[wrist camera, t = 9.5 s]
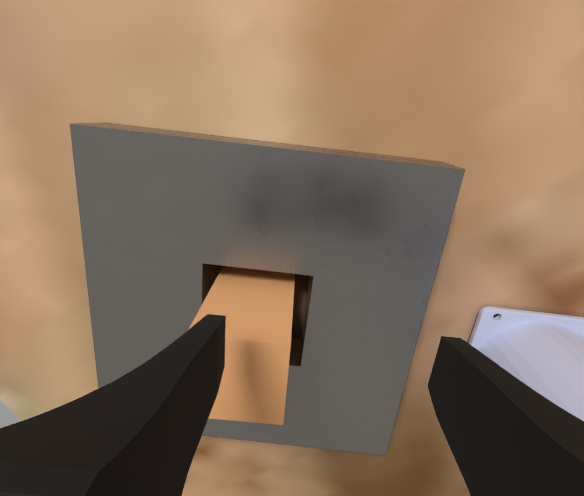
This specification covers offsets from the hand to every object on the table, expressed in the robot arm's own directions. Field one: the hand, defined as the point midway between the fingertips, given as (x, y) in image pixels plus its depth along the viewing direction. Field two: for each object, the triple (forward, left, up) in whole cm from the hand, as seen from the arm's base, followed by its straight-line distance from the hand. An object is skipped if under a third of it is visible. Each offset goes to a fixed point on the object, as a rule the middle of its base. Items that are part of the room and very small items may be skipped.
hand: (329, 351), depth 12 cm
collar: (+3, +4, -10) cm, 11 cm away
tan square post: (+3, +4, -10) cm, 12 cm away
